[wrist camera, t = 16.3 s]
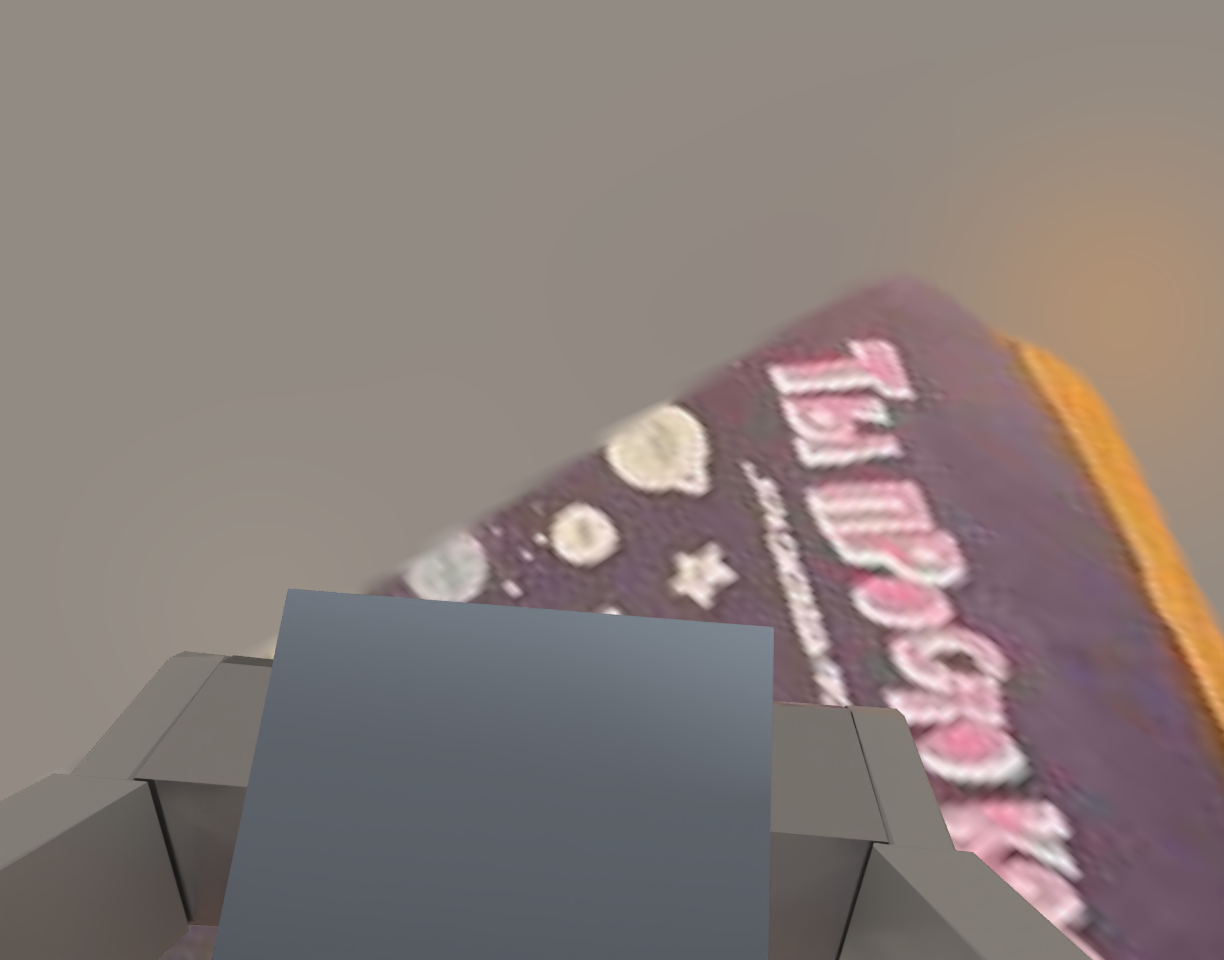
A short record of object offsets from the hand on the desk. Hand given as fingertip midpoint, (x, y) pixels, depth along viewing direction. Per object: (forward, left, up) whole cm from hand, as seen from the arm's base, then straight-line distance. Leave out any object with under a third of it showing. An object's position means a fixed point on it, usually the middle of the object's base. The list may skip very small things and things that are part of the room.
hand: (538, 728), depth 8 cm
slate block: (-1, 0, -6) cm, 6 cm away
